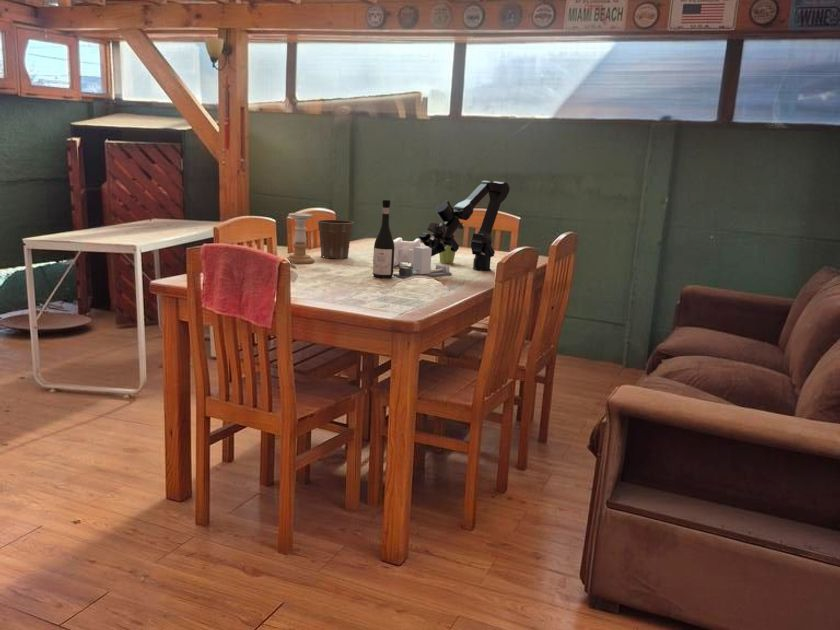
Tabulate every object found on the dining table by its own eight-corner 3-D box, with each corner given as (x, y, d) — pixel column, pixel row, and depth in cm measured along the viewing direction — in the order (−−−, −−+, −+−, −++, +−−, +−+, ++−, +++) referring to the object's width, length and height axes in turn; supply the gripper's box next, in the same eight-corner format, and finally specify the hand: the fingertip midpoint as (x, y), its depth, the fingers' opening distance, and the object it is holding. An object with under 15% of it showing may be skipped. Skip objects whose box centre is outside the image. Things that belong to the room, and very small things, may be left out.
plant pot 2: (460, 263, 331) (461, 244, 329) (450, 265, 324) (451, 246, 322) (443, 260, 336) (444, 242, 334) (432, 262, 328) (433, 243, 326)
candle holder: (290, 258, 315) (291, 212, 311) (317, 260, 314) (319, 214, 309) (281, 262, 303) (282, 214, 299) (309, 264, 302) (310, 216, 297)
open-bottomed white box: (421, 271, 295) (423, 246, 293) (430, 273, 292) (431, 248, 290) (412, 272, 292) (414, 247, 290) (421, 274, 289) (422, 248, 286)
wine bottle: (390, 279, 280) (394, 201, 273) (370, 277, 281) (373, 199, 274) (394, 276, 287) (398, 200, 281) (375, 274, 289) (379, 198, 282)
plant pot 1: (308, 255, 326) (309, 219, 322) (334, 253, 338) (336, 218, 335) (333, 260, 316) (334, 223, 312) (359, 258, 328) (361, 222, 324)
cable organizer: (414, 269, 307) (416, 242, 304) (390, 267, 308) (391, 240, 306) (419, 264, 321) (421, 238, 319) (396, 262, 323) (397, 236, 320)
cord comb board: (438, 271, 304) (438, 262, 303) (451, 274, 298) (452, 265, 298) (393, 275, 287) (393, 266, 286) (406, 279, 282) (407, 269, 281)
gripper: (423, 213, 299) (402, 240, 294) (456, 218, 286) (434, 246, 281) (436, 231, 306) (415, 258, 301) (468, 237, 293) (447, 265, 288)
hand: (427, 257), depth 292 cm, fingers closed, pressing on open-bottomed white box
